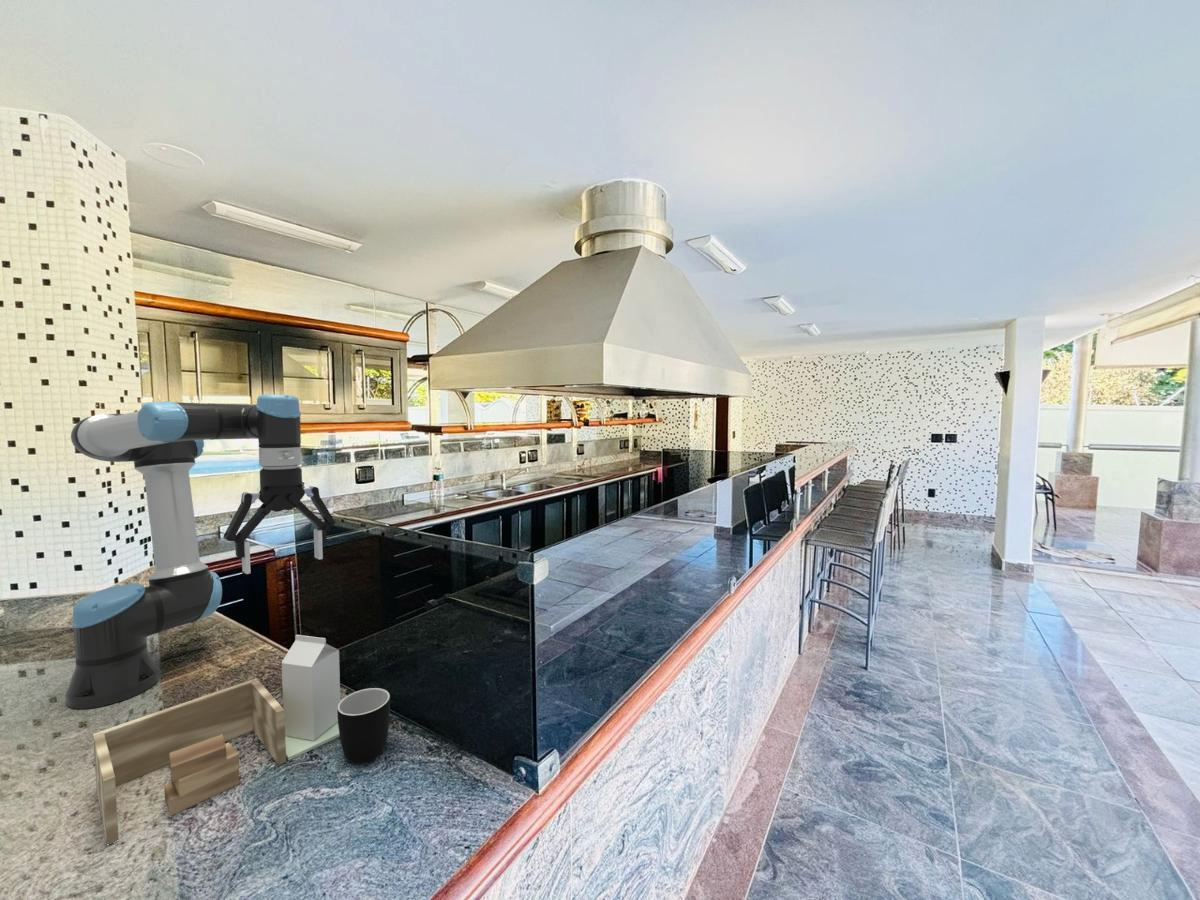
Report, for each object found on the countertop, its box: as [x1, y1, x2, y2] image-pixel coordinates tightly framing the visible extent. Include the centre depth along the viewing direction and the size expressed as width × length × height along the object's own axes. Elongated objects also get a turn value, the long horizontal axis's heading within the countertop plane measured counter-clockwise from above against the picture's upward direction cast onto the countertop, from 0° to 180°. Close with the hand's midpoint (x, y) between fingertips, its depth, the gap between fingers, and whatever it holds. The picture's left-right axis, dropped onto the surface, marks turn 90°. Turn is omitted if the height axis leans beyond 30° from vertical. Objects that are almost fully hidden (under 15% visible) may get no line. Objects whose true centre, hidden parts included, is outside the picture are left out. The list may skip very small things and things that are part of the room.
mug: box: [337, 687, 391, 764], centre depth 92 cm, size 12×9×10 cm
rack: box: [92, 677, 287, 845], centre depth 85 cm, size 17×23×10 cm
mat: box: [285, 722, 340, 761], centre depth 98 cm, size 12×12×1 cm
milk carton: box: [281, 634, 341, 741], centre depth 97 cm, size 7×7×19 cm
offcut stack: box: [163, 734, 240, 817], centre depth 82 cm, size 6×9×8 cm, turn 140°
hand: (284, 565), depth 104 cm, fingers open, 13 cm apart
